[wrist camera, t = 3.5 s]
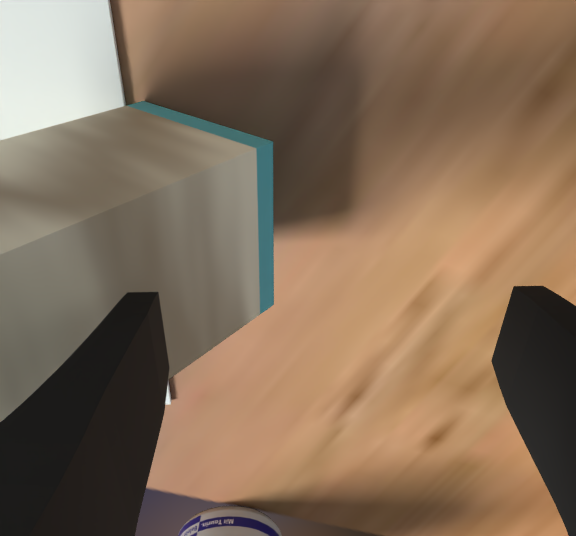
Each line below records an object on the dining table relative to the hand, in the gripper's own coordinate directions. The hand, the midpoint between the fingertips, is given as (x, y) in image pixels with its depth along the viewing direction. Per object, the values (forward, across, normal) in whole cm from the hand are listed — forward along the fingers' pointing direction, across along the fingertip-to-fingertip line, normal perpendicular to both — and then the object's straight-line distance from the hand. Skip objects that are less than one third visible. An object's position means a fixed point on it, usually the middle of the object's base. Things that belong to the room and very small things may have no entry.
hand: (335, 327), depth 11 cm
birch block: (+6, +3, 0) cm, 7 cm away
